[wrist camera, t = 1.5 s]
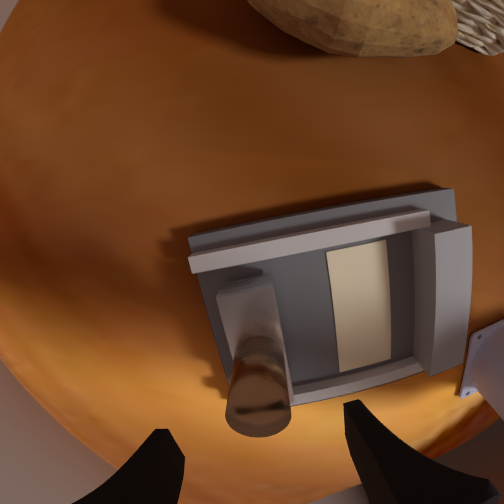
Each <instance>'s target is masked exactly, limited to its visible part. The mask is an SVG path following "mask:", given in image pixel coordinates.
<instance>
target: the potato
mask: <svg viewBox="0 0 504 504" xmlns="http://www.w3.org/2000/svg"><path fill="white" fill-rule="evenodd" d="M247 1H248V3H249V4H250V5H251V6H252V7H253V8H254V9H255V10H256V11H258V12H259V13H260V14H261V15H262V16H263V17H265V18H266V19H267V20H269V21H270V22H272V23H273V24H274V25H276V26H277V27H278V28H279V29H281V30H282V31H284V32H286V33H288V34H290V35H292V36H294V37H296V38H298V39H300V40H302V41H303V42H305V43H307V44H310V45H312V46H314V47H316V48H319V49H321V50H323V51H325V52H327V53H329V54H335V55H341V56H348V57H354V58H362V57H394V58H407V57H415V56H424V55H433V54H438V53H440V52H441V51H443V50H444V49H446V48H448V47H449V46H451V45H453V44H454V43H455V41H456V39H457V37H458V24H457V14H456V10H455V8H454V5H453V3H452V2H451V1H450V0H247Z"/></svg>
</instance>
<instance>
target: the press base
mask: <svg viewBox="0 0 504 504" xmlns="http://www.w3.org/2000/svg"><path fill="white" fill-rule="evenodd" d="M188 241H189V245H190V249H191V253H192V254H191V255H190V256H189V257H188V260H189V264H190V268H191V272H192V274H194V273H197V277H198V281H199V284H200V288H201V292H202V295H203V299H204V303H205V306H206V310H207V313H208V317H209V321H210V324H211V327H212V331H213V334H214V338H215V341H216V344H217V348H218V351H219V354H220V358H221V361H222V364H223V367H224V371H225V374H226V377H227V380H228V383H229V386H230V380H231V373H232V367H233V359H232V355H231V352H230V348H229V344H228V341H227V337H226V334H225V330H224V326H223V323H222V319H221V315H220V312H219V308H218V304H217V300H216V296H217V293H218V291H219V288H220V286H221V283H222V282H228V281H233V280H238V279H244V278H249V277H254V276H260V275H265V274H270V273H271V275H272V280H273V285H274V290H275V296H276V301H277V306H278V311H279V316H280V321H281V326H282V332H283V337H284V342H285V347H286V353H287V358H288V363H289V369H290V374H291V380H292V386H293V393H294V400H295V403H293V404H290V407H291V406H296V405H302V404H307V403H312V402H317V401H322V400H326V399H331V398H335V397H340V396H344V395H348V394H352V393H356V392H359V391H363V390H367V389H370V388H374V387H377V386H381V385H384V384H387V383H391V382H394V381H397V380H400V379H403V378H406V377H409V376H412V375H415V374H418V373H420V372H423V371H425V372H426V373H427V374H428V376H429V377H431V376H434V375H436V374H439V373H441V372H444V371H446V370H449V369H451V368H453V367H456V366H458V365H460V364H462V363H463V359H464V353H465V346H466V340H467V332H468V324H469V314H470V302H471V287H472V226H471V225H467V224H463V223H459V222H457V220H456V208H455V198H454V189H453V188H437V189H430V190H424V191H417V192H411V193H405V194H399V195H393V196H386V197H380V198H375V199H369V200H363V201H357V202H351V203H346V204H340V205H335V206H329V207H324V208H318V209H313V210H307V211H302V212H297V213H292V214H286V215H281V216H276V217H271V218H266V219H261V220H256V221H251V222H246V223H241V224H237V225H232V226H227V227H222V228H217V229H213V230H208V231H203V232H199V233H194V234H192V235H191V236H189V237H188Z"/></svg>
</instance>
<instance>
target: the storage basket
mask: <svg viewBox="0 0 504 504" xmlns="http://www.w3.org/2000/svg"><path fill="white" fill-rule="evenodd" d="M450 1H451V2H452V3H453V5H454V8H455V10H456V14H457V24H458V37H457V39H456V41H457V42H459V43H461V44H463V45H465V46H467V47H472V48H473V49H475V50H477V51H478V52H480V53H482V54H485V55H491V56H492V55H497V54H498V53H503V52H504V0H450Z"/></svg>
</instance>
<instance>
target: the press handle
mask: <svg viewBox="0 0 504 504" xmlns="http://www.w3.org/2000/svg"><path fill="white" fill-rule="evenodd" d="M216 300H217V304H218V308H219V312H220V315H221V319H222V323H223V326H224V330H225V334H226V337H227V341H228V344H229V348H230V352H231V355H232V359H233V367H232V373H231V380H230V387H229V393H228V400H227V406H226V413H225V417H226V421H227V423H228V424H229V426H230V427H231V428H232V429H233V430H235V431H236V432H238V433H240V434H242V435H245V436H249V437H268V436H272V435H274V434H277V433H279V432H280V431H282V430H283V429H285V428H286V427H287V425H288V424H289V422H290V420H291V409H290V404H293V403H295V400H294V393H293V386H292V380H291V374H290V369H289V363H288V358H287V353H286V347H285V342H284V337H283V332H282V326H281V321H280V316H279V311H278V306H277V301H276V296H275V290H274V285H273V280H272V275H271V273H270V274H265V275H260V276H254V277H249V278H244V279H238V280H233V281H228V282H222V283H221V286H220V288H219V291H218V293H217V296H216Z"/></svg>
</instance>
